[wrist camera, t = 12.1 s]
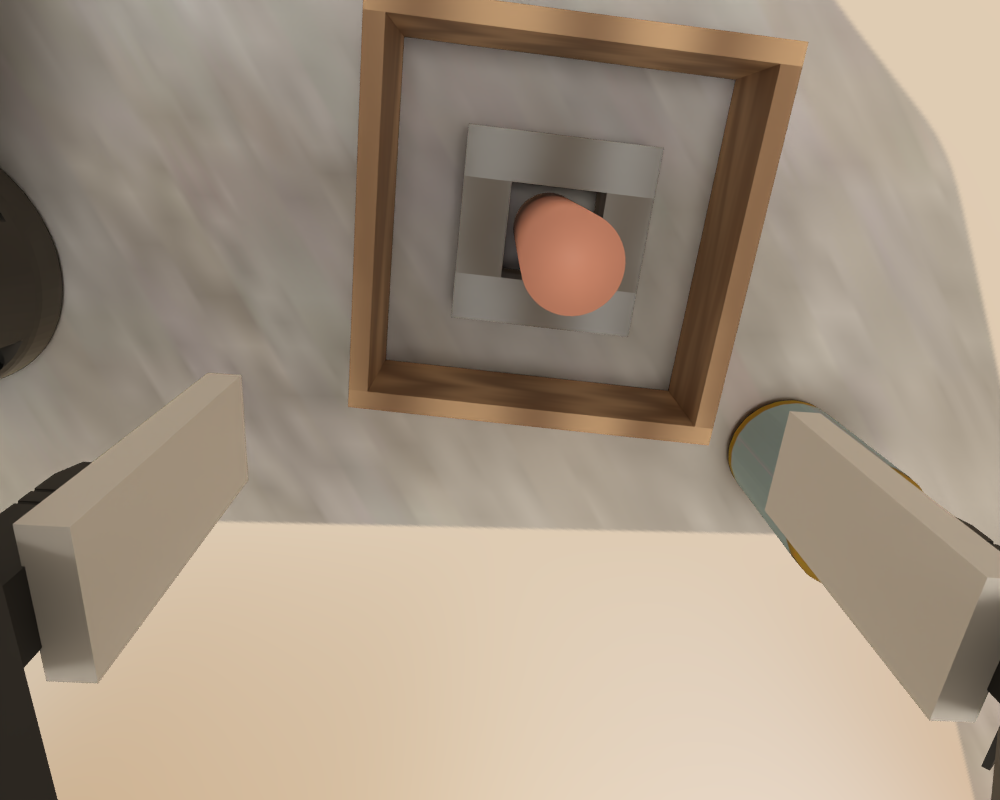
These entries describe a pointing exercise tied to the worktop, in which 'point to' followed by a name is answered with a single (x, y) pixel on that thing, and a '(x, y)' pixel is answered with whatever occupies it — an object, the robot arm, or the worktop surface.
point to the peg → (567, 255)
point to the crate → (576, 165)
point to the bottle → (773, 457)
